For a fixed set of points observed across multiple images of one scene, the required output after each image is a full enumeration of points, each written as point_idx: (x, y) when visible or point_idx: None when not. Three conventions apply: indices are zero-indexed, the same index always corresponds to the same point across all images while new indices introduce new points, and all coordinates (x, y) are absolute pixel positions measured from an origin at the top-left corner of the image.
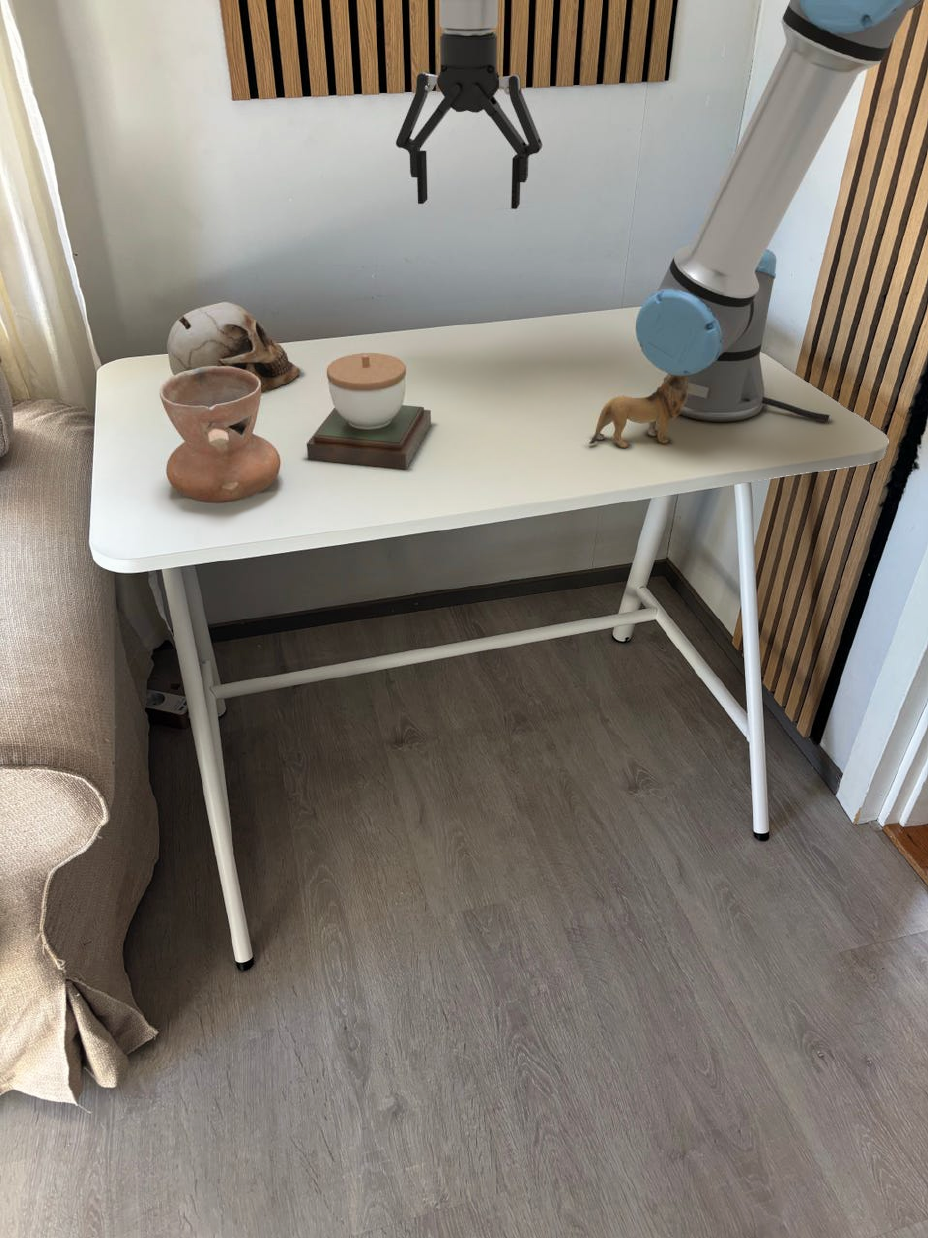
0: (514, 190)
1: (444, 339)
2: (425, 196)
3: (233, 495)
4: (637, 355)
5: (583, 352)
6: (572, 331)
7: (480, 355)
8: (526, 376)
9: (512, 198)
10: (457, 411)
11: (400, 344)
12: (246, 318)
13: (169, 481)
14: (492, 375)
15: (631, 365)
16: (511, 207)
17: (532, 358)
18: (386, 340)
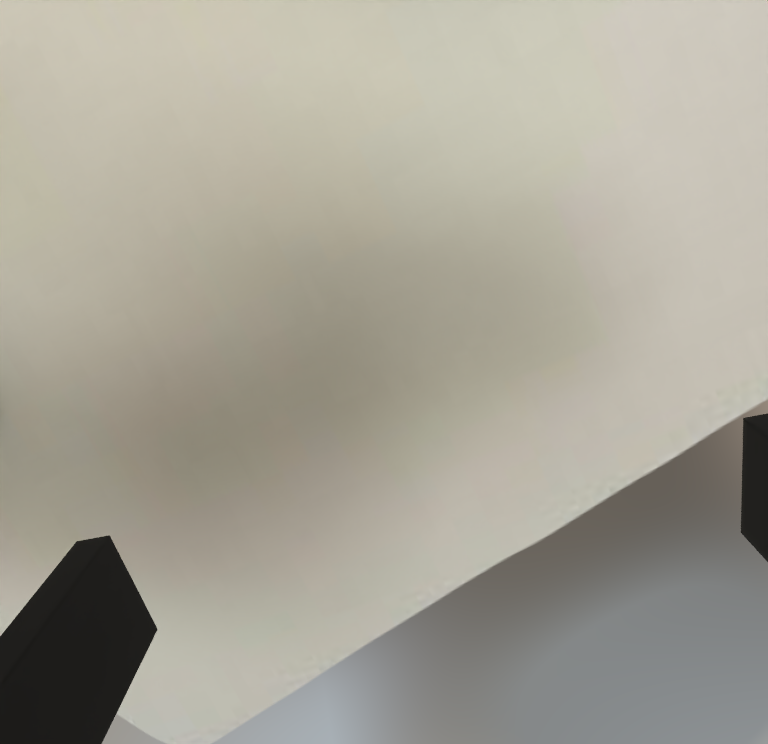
0: (21, 632)
1: (550, 462)
2: (762, 504)
3: None
4: (137, 532)
5: (240, 508)
6: (310, 591)
7: (437, 413)
8: (291, 348)
9: (66, 581)
10: (348, 82)
11: (640, 399)
12: None
13: None
14: (364, 322)
15: (122, 485)
16: (105, 539)
17: (323, 441)
18: (681, 408)
